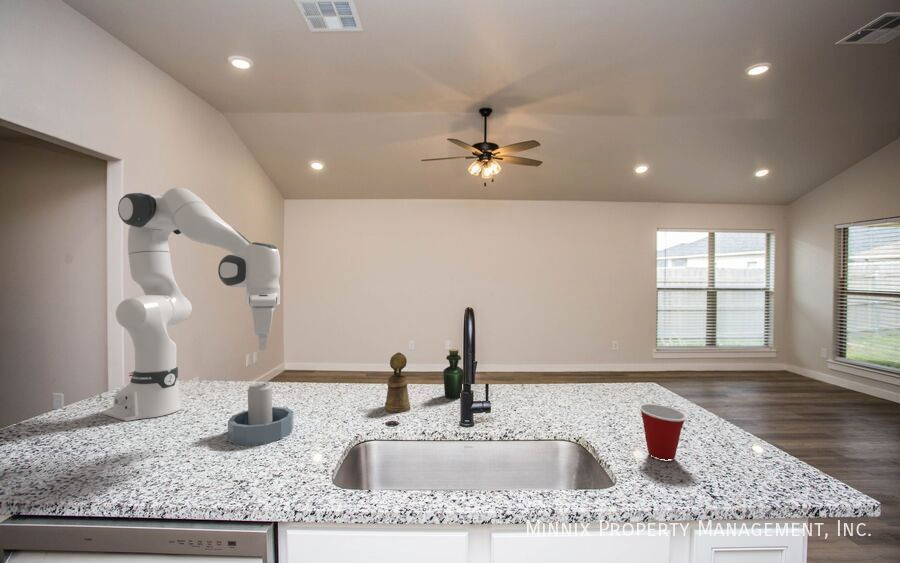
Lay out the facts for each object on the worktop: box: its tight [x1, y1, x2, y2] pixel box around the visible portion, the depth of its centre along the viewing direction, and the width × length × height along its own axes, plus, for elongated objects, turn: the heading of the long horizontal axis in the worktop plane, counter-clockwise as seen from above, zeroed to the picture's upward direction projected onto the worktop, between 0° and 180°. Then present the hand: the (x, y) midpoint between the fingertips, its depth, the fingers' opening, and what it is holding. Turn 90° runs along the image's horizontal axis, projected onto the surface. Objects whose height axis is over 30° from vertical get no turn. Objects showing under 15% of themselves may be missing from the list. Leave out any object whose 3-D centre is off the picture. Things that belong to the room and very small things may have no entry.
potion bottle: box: [442, 348, 464, 400], centre depth 150 cm, size 8×8×18 cm
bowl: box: [227, 406, 294, 446], centre depth 112 cm, size 16×16×5 cm
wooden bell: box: [384, 352, 411, 413], centre depth 137 cm, size 9×14×18 cm, turn 5°
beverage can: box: [247, 382, 273, 425], centre depth 115 cm, size 6×6×12 cm
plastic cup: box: [638, 403, 688, 460], centre depth 99 cm, size 11×11×12 cm
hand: (262, 346), depth 112 cm, fingers open, 8 cm apart
